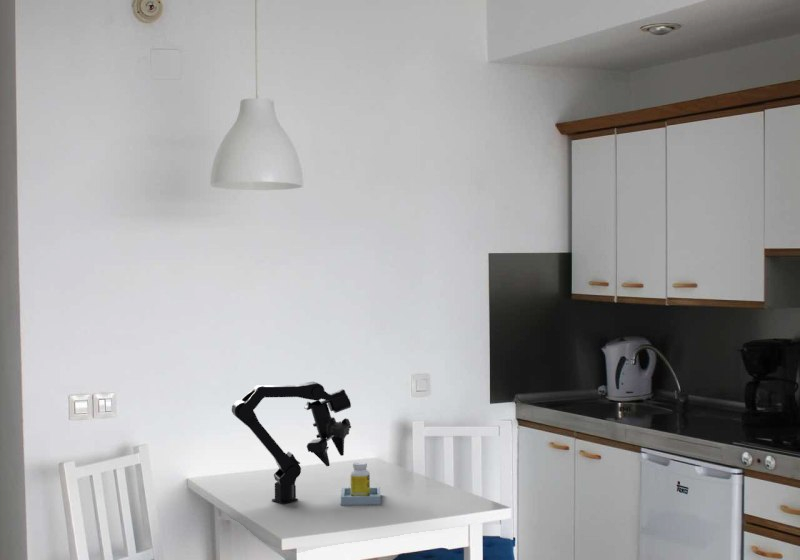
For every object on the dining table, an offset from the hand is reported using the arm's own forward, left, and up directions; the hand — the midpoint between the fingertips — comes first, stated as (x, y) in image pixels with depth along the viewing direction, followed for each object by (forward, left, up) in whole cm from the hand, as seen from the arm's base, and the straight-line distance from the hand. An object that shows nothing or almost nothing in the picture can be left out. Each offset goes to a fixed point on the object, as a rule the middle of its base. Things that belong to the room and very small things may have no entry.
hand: (335, 460), depth 313 cm
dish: (+2, -10, -12) cm, 16 cm away
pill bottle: (+2, -10, -12) cm, 15 cm away
